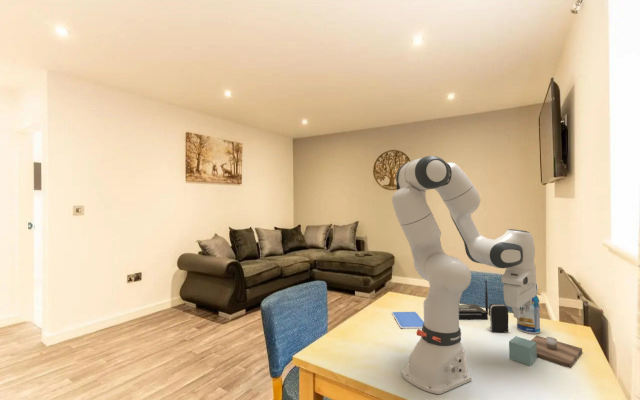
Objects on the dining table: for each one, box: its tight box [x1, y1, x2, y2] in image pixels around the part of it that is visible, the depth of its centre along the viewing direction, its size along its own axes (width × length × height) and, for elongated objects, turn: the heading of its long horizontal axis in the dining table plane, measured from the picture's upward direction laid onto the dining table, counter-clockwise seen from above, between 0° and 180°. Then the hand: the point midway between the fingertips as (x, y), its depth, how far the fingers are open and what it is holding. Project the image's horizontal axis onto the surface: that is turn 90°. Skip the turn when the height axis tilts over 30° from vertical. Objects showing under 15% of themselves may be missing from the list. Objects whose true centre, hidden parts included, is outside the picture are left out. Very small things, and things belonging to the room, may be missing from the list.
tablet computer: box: [391, 311, 424, 330], centre depth 142 cm, size 19×13×1 cm, turn 179°
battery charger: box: [488, 303, 509, 333], centre depth 128 cm, size 7×4×11 cm, turn 85°
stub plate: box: [530, 335, 583, 369], centre depth 109 cm, size 16×14×5 cm
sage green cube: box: [508, 336, 538, 367], centre depth 105 cm, size 6×6×6 cm
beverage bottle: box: [516, 284, 541, 335], centre depth 128 cm, size 8×8×20 cm
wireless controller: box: [459, 279, 489, 321], centre depth 146 cm, size 20×14×17 cm
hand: (522, 313), depth 105 cm, fingers open, 8 cm apart
